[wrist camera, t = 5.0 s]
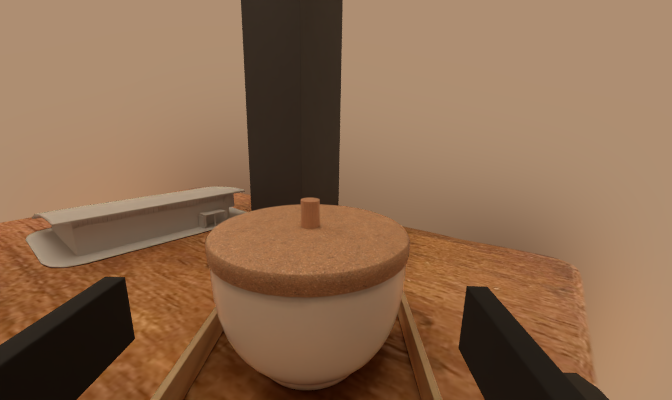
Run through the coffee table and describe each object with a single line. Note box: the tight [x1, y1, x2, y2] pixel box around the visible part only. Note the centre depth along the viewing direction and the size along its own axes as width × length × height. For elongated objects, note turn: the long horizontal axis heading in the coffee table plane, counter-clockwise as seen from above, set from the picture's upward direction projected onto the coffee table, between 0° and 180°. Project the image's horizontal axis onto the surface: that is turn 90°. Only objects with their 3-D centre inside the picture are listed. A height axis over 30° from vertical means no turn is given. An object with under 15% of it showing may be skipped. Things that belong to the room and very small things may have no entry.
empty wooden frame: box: [151, 290, 442, 400], centre depth 19 cm, size 13×13×2 cm
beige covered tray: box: [26, 187, 246, 267], centre depth 40 cm, size 15×23×4 cm, turn 141°
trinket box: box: [205, 198, 410, 390], centre depth 18 cm, size 11×11×9 cm
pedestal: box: [241, 0, 342, 211], centre depth 37 cm, size 8×8×36 cm
